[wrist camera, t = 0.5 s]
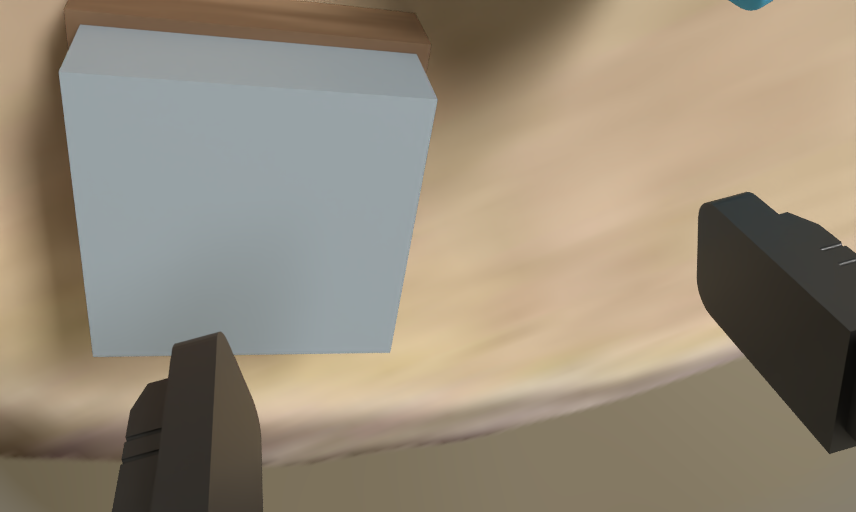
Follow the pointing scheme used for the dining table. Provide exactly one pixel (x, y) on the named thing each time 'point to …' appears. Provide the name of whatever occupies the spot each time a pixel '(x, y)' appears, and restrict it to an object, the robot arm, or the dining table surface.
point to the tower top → (242, 189)
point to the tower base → (260, 22)
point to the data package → (750, 4)
